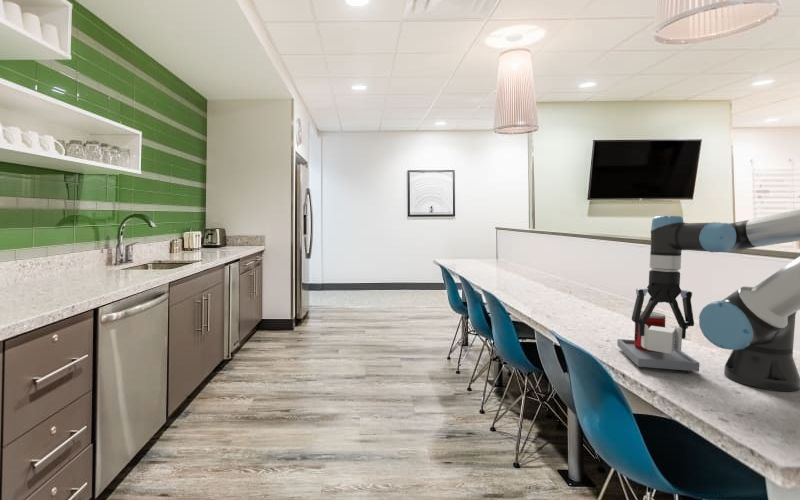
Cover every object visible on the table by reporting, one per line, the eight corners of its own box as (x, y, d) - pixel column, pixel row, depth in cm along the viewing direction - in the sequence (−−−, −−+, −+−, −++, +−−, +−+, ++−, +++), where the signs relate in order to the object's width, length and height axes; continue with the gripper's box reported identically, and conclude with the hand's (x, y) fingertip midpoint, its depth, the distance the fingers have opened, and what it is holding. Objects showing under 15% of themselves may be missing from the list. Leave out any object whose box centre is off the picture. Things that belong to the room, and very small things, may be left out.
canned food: (669, 352, 125) (671, 316, 124) (642, 352, 125) (644, 316, 124) (654, 345, 132) (655, 311, 132) (629, 344, 133) (630, 310, 132)
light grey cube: (646, 349, 119) (647, 329, 119) (650, 345, 124) (651, 325, 123) (671, 354, 115) (672, 332, 115) (674, 349, 120) (675, 328, 119)
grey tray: (617, 349, 136) (617, 338, 136) (668, 353, 133) (668, 342, 132) (637, 370, 116) (638, 358, 116) (698, 375, 112) (699, 362, 112)
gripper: (699, 270, 119) (695, 347, 120) (620, 267, 124) (617, 342, 125) (713, 272, 112) (708, 355, 113) (628, 269, 117) (625, 349, 118)
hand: (660, 348), depth 119 cm, fingers closed on light grey cube, 8 cm apart
